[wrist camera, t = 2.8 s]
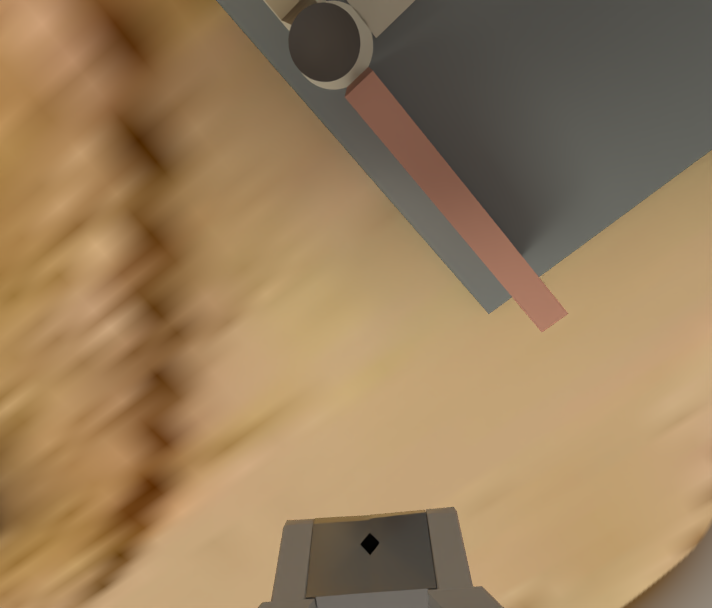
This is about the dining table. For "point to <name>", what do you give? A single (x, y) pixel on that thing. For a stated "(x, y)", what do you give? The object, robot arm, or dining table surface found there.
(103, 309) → the dining table surface
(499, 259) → the hinged fence panel
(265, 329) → the dining table surface
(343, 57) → the fixed fence panel
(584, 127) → the card
